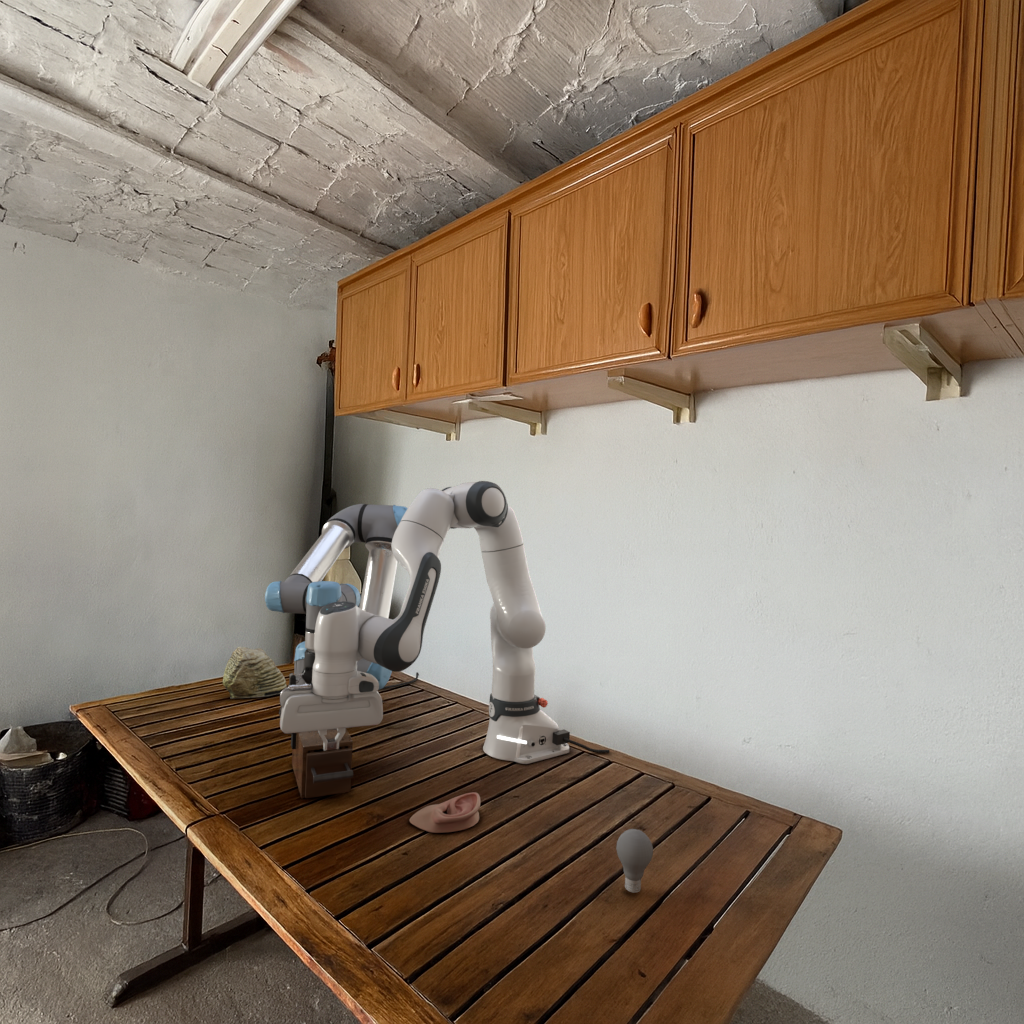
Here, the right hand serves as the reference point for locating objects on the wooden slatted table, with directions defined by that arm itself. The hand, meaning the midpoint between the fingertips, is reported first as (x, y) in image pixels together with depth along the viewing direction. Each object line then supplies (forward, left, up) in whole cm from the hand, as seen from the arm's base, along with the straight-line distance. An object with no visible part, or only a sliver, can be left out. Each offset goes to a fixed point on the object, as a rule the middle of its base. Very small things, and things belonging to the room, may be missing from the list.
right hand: (330, 749), depth 130 cm
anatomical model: (-21, +14, -12) cm, 27 cm away
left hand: (0, -19, -6) cm, 20 cm away
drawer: (0, -8, -11) cm, 14 cm away
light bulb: (-42, +47, -12) cm, 64 cm away
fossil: (+10, -80, -12) cm, 81 cm away
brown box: (0, -14, -12) cm, 18 cm away
